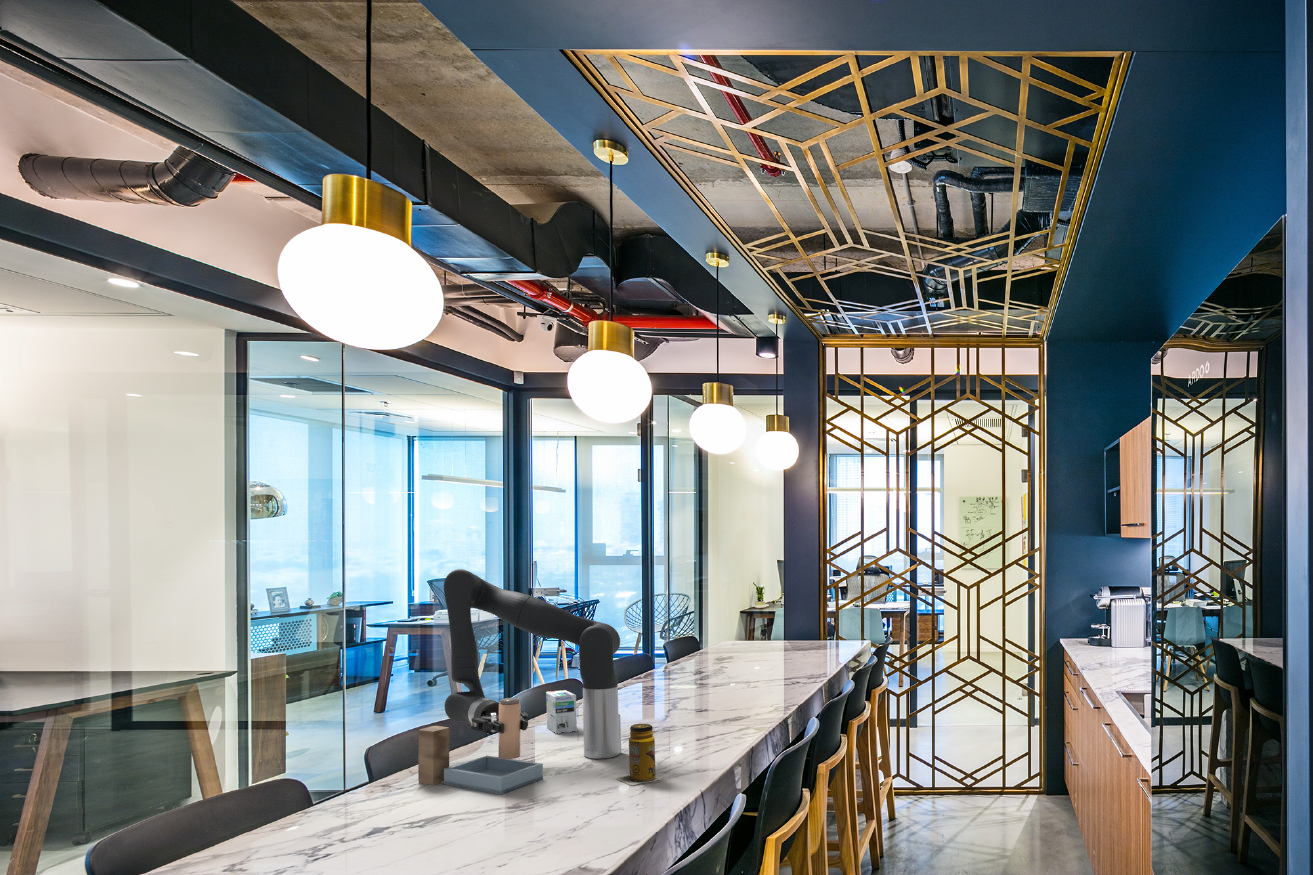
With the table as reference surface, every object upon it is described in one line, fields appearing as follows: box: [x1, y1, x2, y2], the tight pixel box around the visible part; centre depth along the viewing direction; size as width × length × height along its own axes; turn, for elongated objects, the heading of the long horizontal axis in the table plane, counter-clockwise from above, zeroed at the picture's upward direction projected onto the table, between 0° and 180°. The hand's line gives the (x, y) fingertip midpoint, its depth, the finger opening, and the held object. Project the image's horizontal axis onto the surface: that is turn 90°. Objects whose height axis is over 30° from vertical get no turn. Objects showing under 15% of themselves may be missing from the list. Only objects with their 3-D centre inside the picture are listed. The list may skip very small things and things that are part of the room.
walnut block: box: [417, 725, 450, 786], centre depth 198 cm, size 5×5×12 cm
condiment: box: [615, 723, 663, 786], centre depth 194 cm, size 7×8×12 cm
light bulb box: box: [545, 689, 578, 734], centre depth 251 cm, size 11×7×11 cm, turn 23°
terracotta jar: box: [497, 697, 521, 760], centre depth 195 cm, size 5×5×13 cm
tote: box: [443, 755, 544, 795], centre depth 196 cm, size 14×18×4 cm
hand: (513, 727), depth 193 cm, fingers closed on terracotta jar, 5 cm apart
